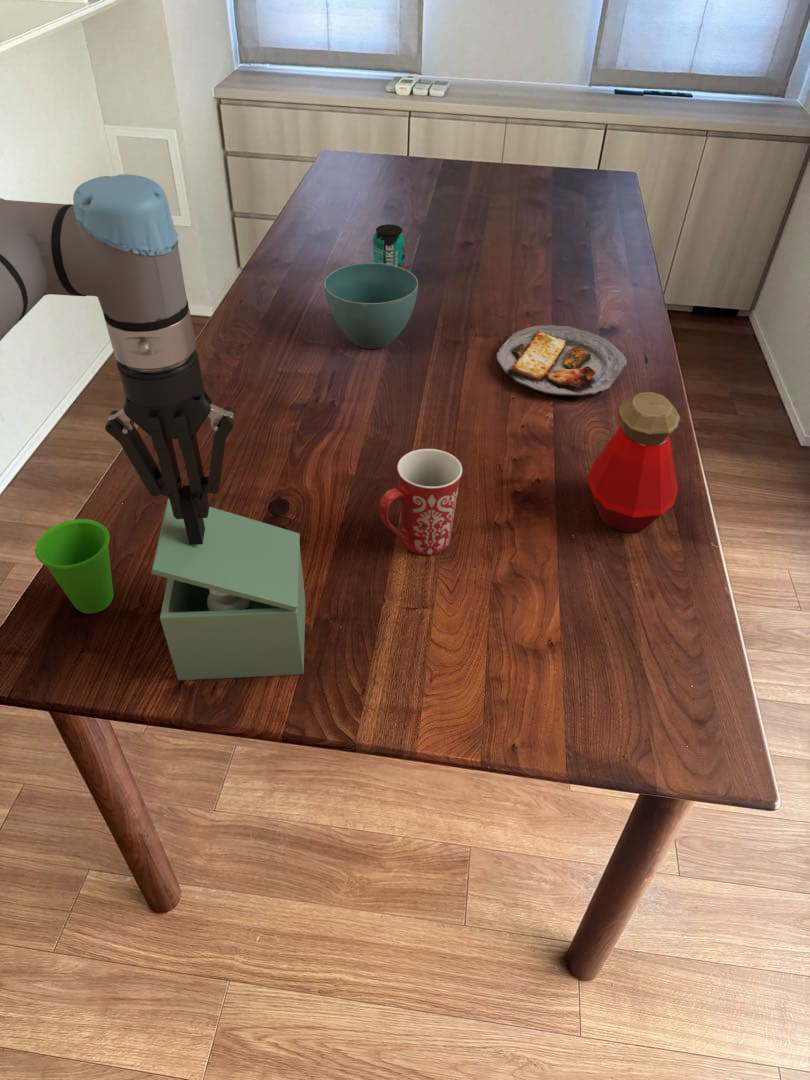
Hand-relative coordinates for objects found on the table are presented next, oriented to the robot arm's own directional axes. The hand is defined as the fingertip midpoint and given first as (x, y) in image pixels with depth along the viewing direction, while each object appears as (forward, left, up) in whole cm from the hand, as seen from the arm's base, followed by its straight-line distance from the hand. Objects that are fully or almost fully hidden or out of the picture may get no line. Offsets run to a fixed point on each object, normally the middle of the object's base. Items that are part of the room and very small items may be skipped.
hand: (197, 536), depth 91 cm
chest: (+3, 0, -19) cm, 19 cm away
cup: (-18, +8, -19) cm, 27 cm away
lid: (+3, 0, -3) cm, 5 cm away
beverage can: (+28, +104, -19) cm, 109 cm away
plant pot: (+23, +78, -19) cm, 83 cm away
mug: (+27, +17, -19) cm, 37 cm away
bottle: (+60, +22, -19) cm, 67 cm away
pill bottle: (+2, 0, -18) cm, 18 cm away
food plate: (+59, +65, -19) cm, 90 cm away
